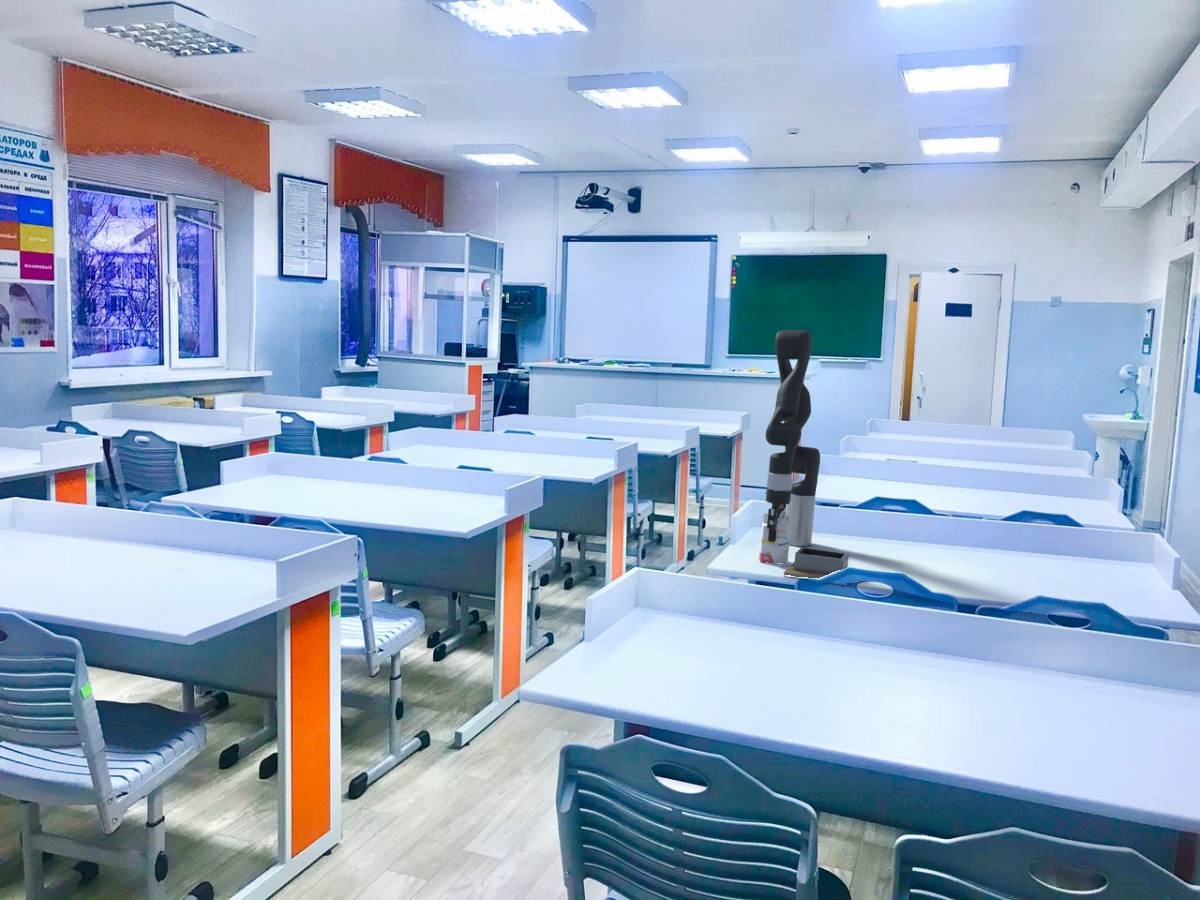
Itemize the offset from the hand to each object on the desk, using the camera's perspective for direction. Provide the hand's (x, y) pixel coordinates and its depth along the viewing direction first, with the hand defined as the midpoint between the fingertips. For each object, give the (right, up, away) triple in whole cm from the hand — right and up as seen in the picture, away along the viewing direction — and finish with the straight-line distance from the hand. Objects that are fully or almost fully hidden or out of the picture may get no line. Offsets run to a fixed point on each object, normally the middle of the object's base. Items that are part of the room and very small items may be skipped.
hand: (774, 539), depth 301 cm
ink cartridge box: (0, -7, +1) cm, 8 cm away
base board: (+11, -10, -13) cm, 19 cm away
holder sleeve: (+11, -8, -13) cm, 19 cm away
